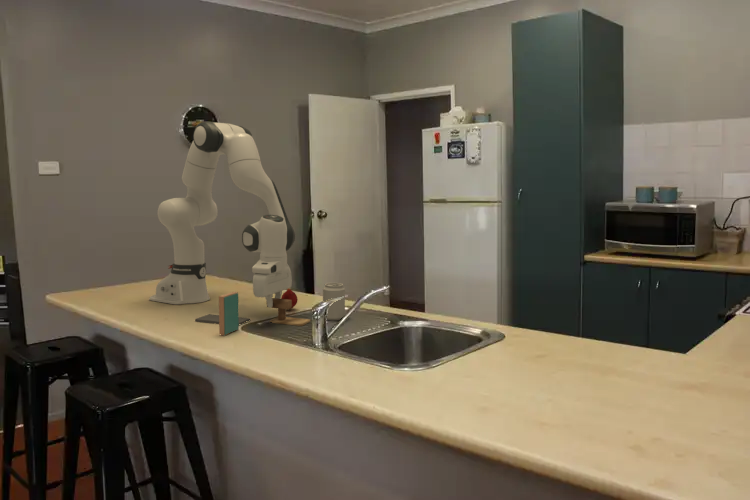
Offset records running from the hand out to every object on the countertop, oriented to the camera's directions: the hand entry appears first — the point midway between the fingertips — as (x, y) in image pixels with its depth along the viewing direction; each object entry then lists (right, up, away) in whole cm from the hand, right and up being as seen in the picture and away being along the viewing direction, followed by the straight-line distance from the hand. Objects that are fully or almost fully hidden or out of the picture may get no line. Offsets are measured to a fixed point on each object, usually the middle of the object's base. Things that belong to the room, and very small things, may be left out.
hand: (273, 305), depth 214 cm
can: (+20, -5, +5) cm, 21 cm away
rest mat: (-17, -5, -1) cm, 17 cm away
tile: (-11, -7, -16) cm, 20 cm away
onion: (+3, -3, +17) cm, 18 cm away
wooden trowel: (+5, -5, -1) cm, 7 cm away
